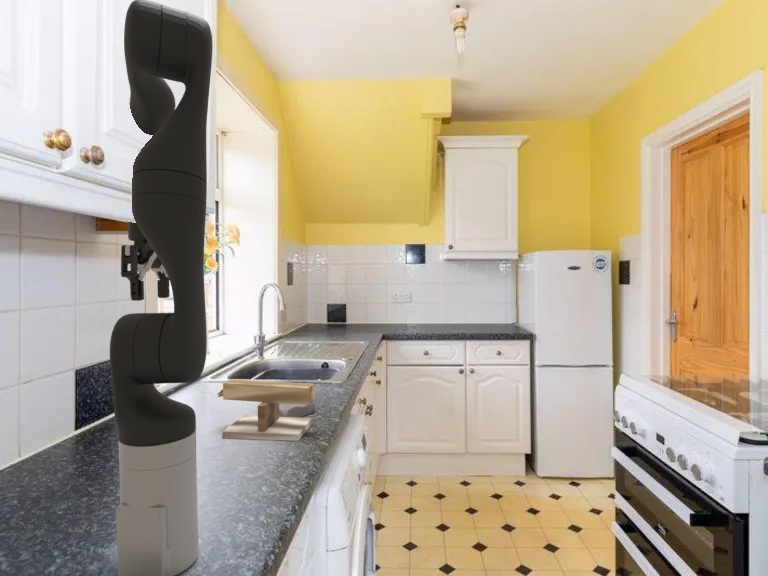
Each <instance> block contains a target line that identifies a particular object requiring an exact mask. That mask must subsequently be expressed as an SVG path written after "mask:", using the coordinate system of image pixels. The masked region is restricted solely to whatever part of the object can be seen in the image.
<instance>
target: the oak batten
mask: <svg viewBox="0 0 768 576" xmlns="http://www.w3.org/2000/svg"><path fill="white" fill-rule="evenodd" d="M315 385H316V384H315V383H306V382H305V383H304V382H291V381H290V382H289V381H270V380H252V379H250V380H249V379H233V378H232V379H229V380H227V381H225V382H222V389H223V396H222V398H223V399H222V400H227V401H241V402H255V403H256V402H257V403H262V402H269V403H284V404H298V405H309V404H311V403H312V402H315V401H316V393H315V392H316V391H315V390H316V389H315Z"/></svg>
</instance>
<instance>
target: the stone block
mask: <svg viewBox="0 0 768 576" xmlns="http://www.w3.org/2000/svg"><path fill="white" fill-rule="evenodd" d="M315 410H316V405H315V401H313V402H312V403H311V404H309V405H298V404H284V403H279V417H301V418H304V417H305V416H308V415H311V414H313V413H314V412H315Z"/></svg>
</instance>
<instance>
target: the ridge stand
mask: <svg viewBox="0 0 768 576" xmlns="http://www.w3.org/2000/svg"><path fill="white" fill-rule="evenodd" d="M312 425H313V417H279V403H269V402H260V403H259V404H258V405H257V415H242V416H241V417H239V418H238V419H237V420H235V422H233V423H232V424H231V425H229V426H228V427H227V428H225V429H224V430H222V431H221V435H222V436H221V438H222V439H234V440H235V439H236V440H237V439H238V440H261V441H264V440H265V441H266V440H267V441H285V442H286V441H287V442H289V441H291V442H299V441H300V439H301V438H302V437H303V436H304V434H305V433H307V431H308V430H309V428H310V427H311V426H312Z"/></svg>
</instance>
